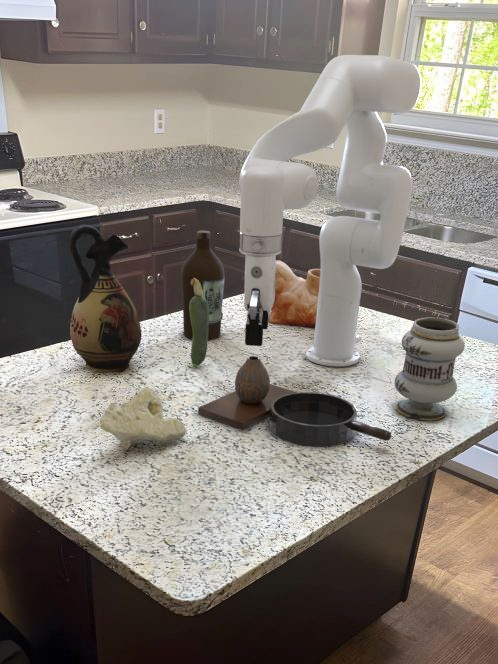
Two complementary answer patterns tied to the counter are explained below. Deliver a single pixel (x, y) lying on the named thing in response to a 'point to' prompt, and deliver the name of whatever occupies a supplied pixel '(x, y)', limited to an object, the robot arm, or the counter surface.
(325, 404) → the pan
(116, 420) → the cream coral rock
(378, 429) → the pan handle
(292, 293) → the ceramic vessel
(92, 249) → the ceramic jug
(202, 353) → the vegetable
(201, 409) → the board
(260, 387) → the vase
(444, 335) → the apothecary jar
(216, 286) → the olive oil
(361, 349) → the counter surface
